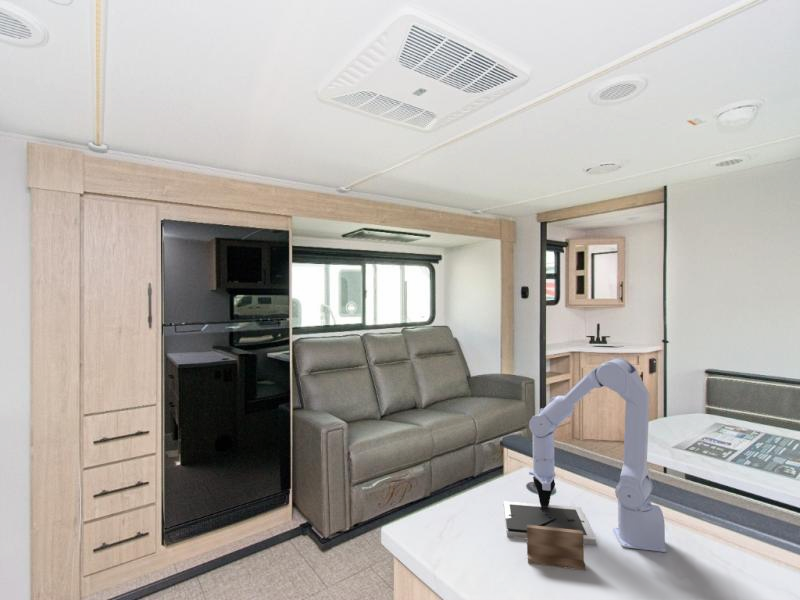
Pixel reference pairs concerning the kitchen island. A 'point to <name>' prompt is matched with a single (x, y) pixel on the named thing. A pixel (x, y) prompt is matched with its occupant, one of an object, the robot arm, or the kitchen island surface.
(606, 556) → the kitchen island surface
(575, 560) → the walnut bookend
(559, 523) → the picture frame
